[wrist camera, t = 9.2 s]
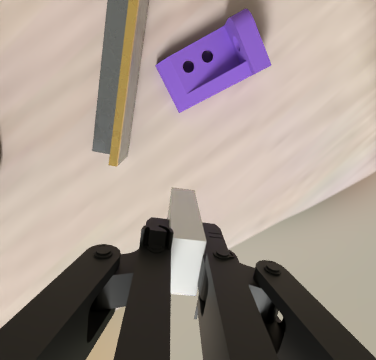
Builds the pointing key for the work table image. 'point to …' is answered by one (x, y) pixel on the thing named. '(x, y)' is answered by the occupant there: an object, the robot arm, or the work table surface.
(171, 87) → the bracket
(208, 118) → the work table surface
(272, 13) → the work table surface
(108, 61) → the wall
